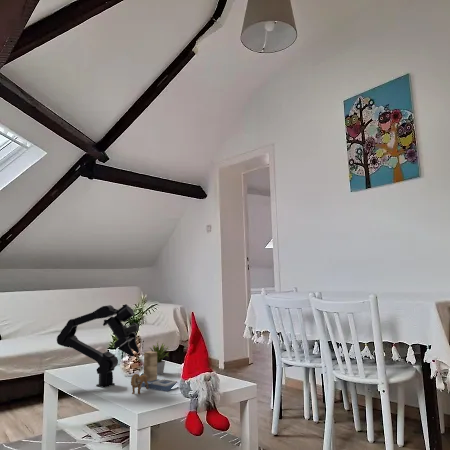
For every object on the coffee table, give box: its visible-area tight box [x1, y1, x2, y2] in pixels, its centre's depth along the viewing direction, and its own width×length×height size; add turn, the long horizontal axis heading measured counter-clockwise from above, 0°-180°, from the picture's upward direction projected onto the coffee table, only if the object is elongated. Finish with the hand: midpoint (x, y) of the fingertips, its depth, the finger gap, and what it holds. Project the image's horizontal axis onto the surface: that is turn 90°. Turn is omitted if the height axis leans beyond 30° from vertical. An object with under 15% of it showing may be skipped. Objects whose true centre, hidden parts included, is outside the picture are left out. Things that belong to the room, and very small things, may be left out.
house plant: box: [149, 342, 173, 375], centre depth 218 cm, size 14×14×16 cm
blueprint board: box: [141, 378, 176, 392], centre depth 190 cm, size 19×9×2 cm, turn 56°
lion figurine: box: [130, 373, 150, 395], centre depth 182 cm, size 15×5×9 cm, turn 173°
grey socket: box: [153, 378, 178, 387], centre depth 188 cm, size 8×8×1 cm
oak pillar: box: [143, 350, 158, 381], centre depth 196 cm, size 4×4×13 cm
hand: (135, 354), depth 195 cm, fingers open, 9 cm apart
